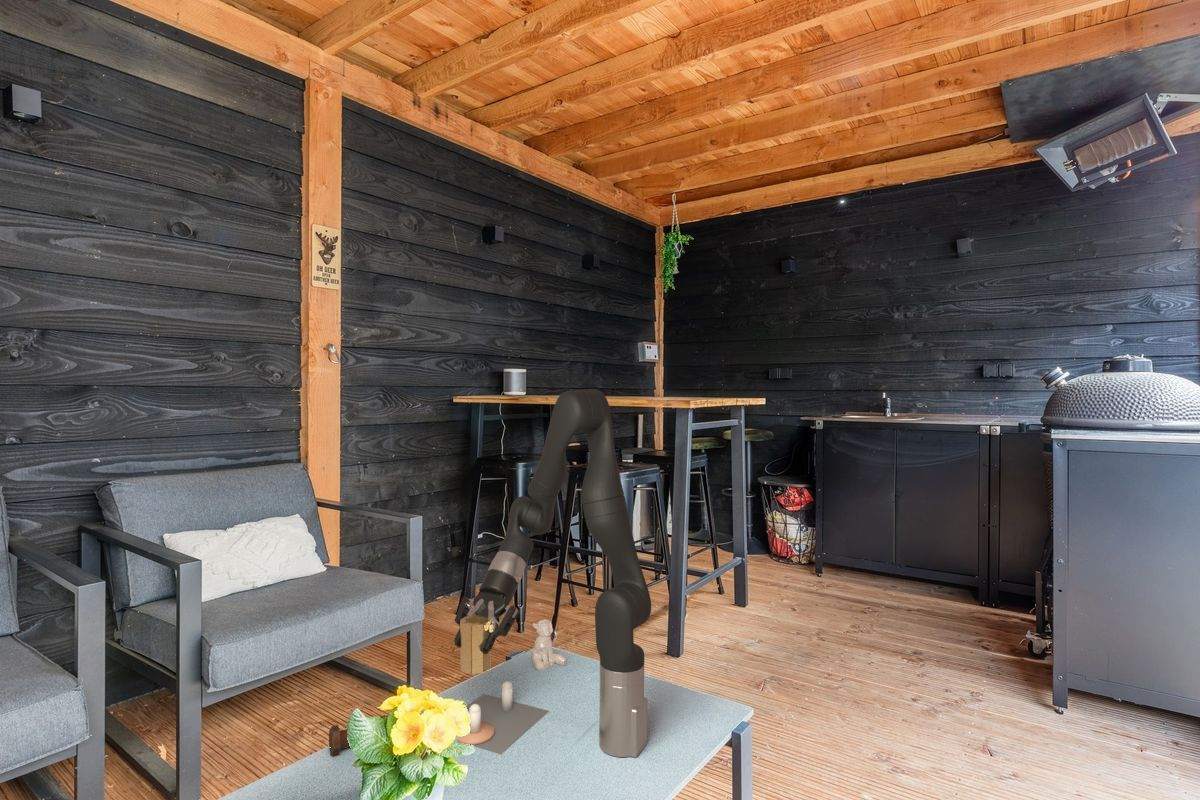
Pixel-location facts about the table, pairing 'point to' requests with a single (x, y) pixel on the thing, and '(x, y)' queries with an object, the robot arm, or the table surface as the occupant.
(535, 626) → the white creature statuette
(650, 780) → the table surface
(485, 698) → the rod board
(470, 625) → the sleeve
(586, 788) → the table surface
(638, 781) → the table surface
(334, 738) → the bolt
